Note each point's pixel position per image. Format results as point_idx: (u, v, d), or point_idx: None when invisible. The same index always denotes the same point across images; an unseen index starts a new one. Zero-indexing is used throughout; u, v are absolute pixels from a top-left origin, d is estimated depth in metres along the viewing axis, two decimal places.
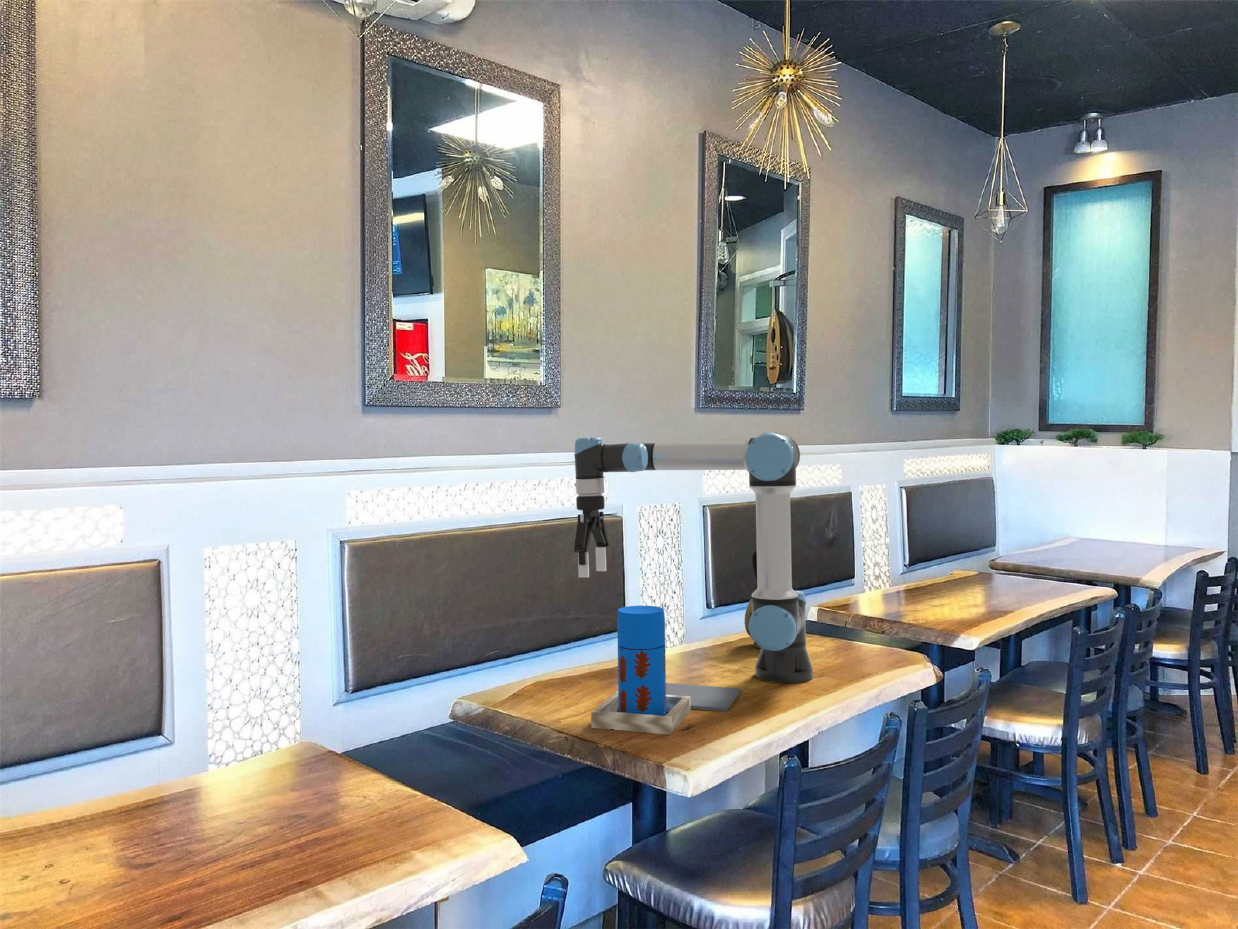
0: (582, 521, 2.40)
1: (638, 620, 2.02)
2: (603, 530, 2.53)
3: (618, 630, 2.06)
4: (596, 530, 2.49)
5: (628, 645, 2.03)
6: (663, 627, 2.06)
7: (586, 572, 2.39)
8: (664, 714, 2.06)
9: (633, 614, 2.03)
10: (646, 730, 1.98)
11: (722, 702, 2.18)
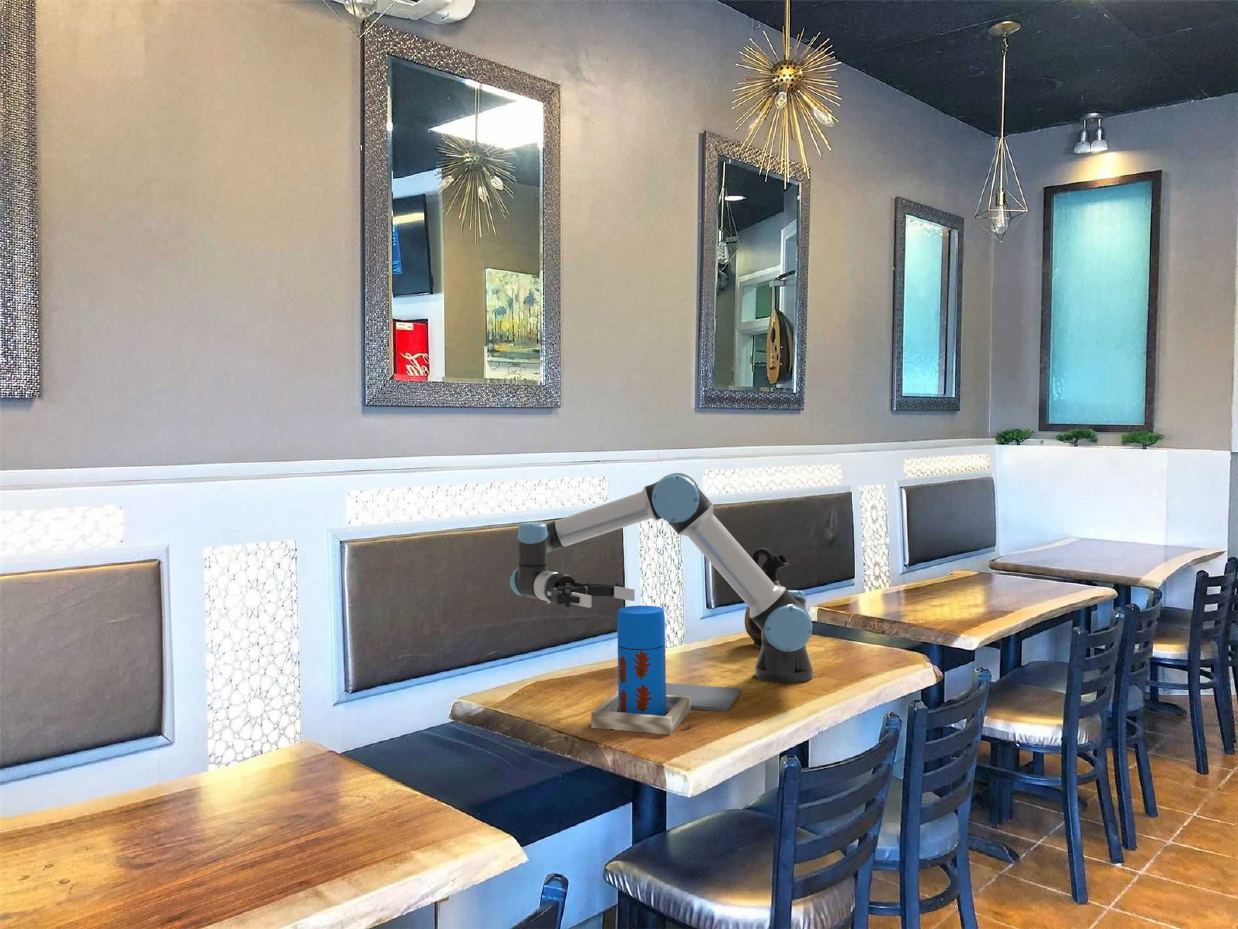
0: (550, 593, 2.21)
1: (638, 620, 2.02)
2: (604, 586, 2.28)
3: (618, 630, 2.06)
4: (591, 590, 2.26)
5: (628, 645, 2.03)
6: (663, 627, 2.06)
7: (585, 597, 2.11)
8: (664, 714, 2.06)
9: (633, 614, 2.03)
10: (646, 730, 1.98)
11: (722, 702, 2.18)
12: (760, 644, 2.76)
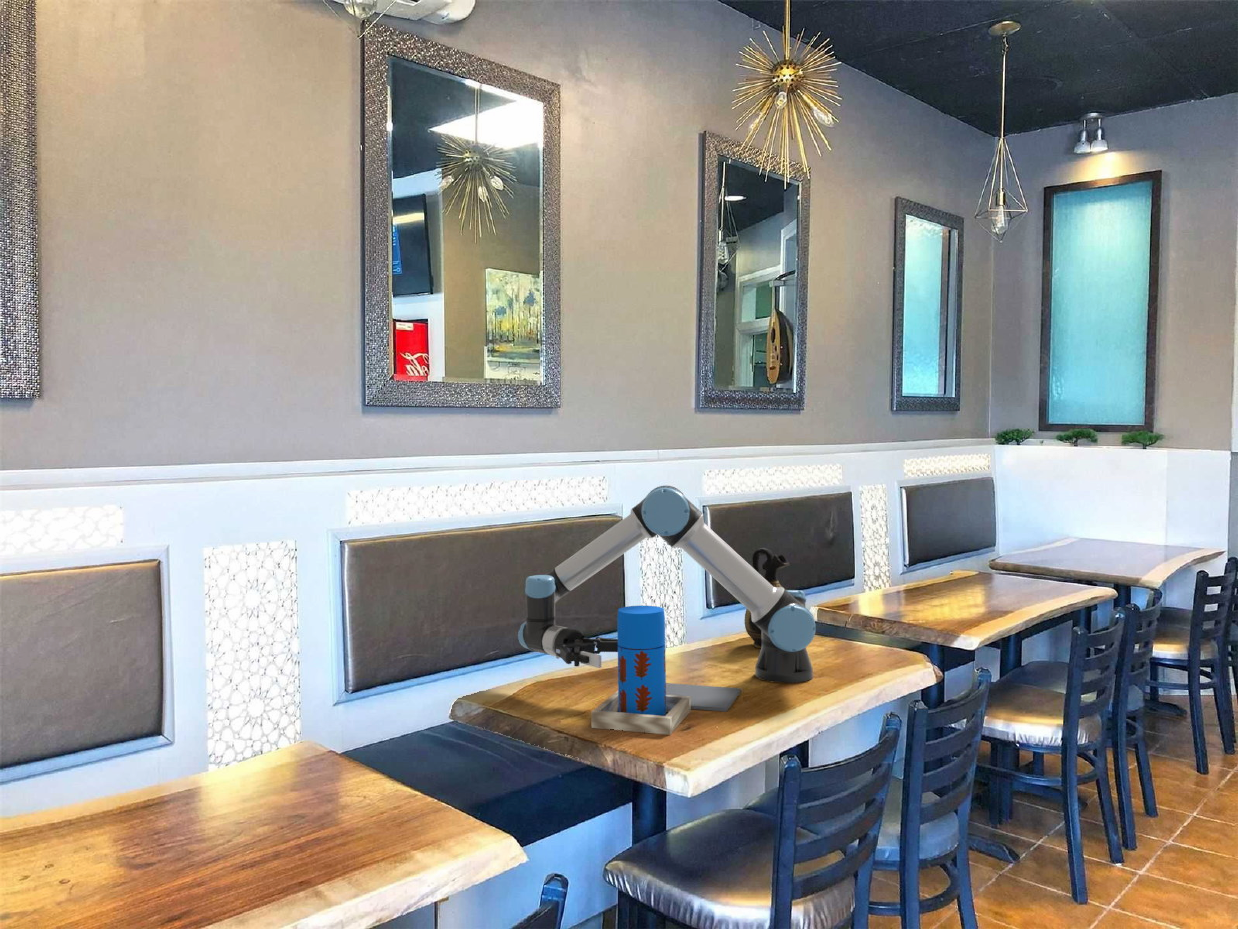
0: (559, 651, 2.18)
1: (638, 620, 2.02)
2: (613, 641, 2.25)
3: (618, 630, 2.06)
4: (600, 645, 2.23)
5: (628, 645, 2.03)
6: (663, 627, 2.06)
7: (595, 657, 2.08)
8: (664, 714, 2.06)
9: (633, 614, 2.03)
10: (646, 730, 1.98)
11: (722, 702, 2.18)
12: (760, 644, 2.76)
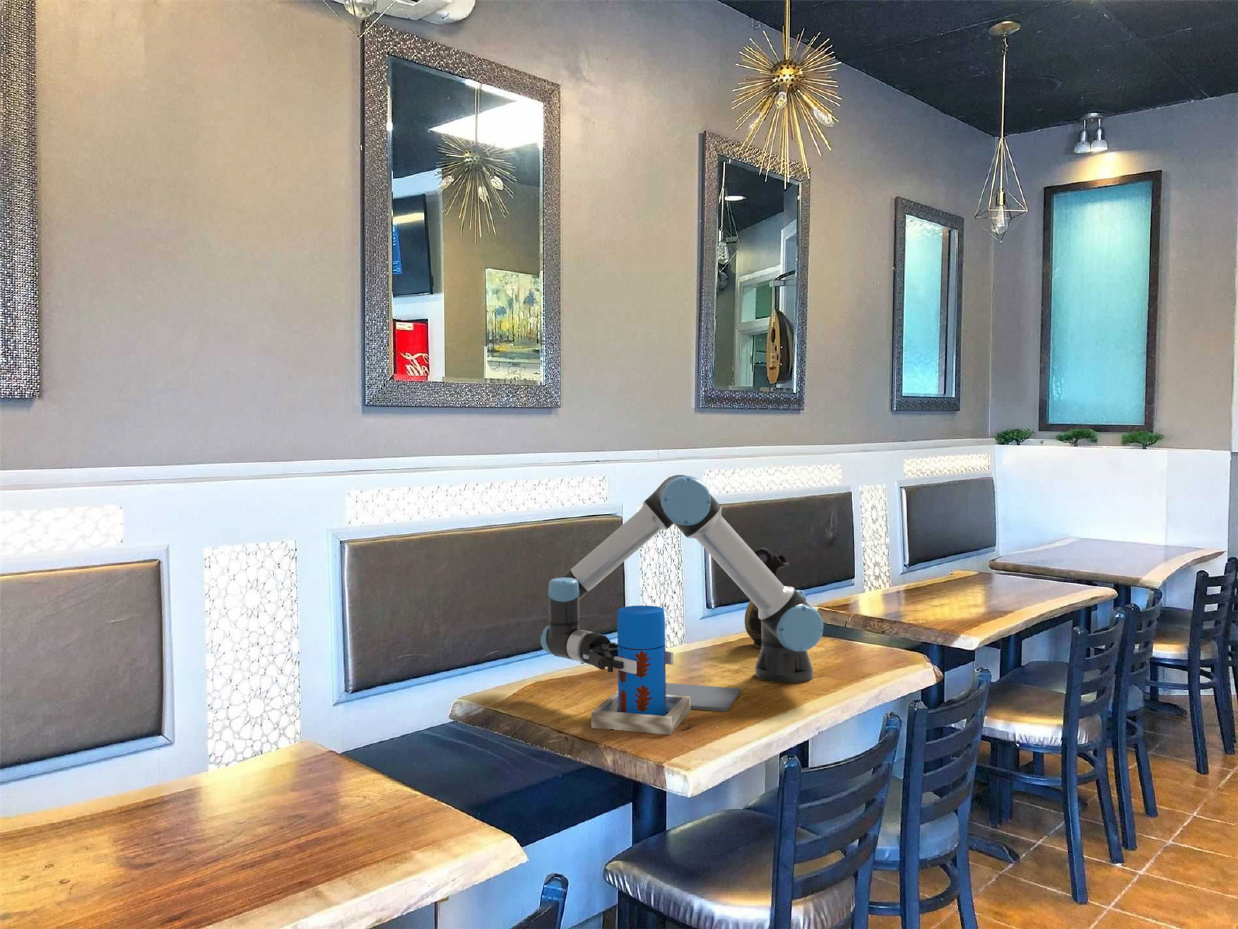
0: (587, 656, 2.11)
1: (638, 620, 2.02)
2: None
3: (618, 630, 2.06)
4: None
5: (628, 645, 2.03)
6: (663, 627, 2.06)
7: (629, 662, 2.02)
8: (664, 714, 2.06)
9: (633, 614, 2.03)
10: (646, 730, 1.98)
11: (722, 702, 2.18)
12: (760, 644, 2.76)
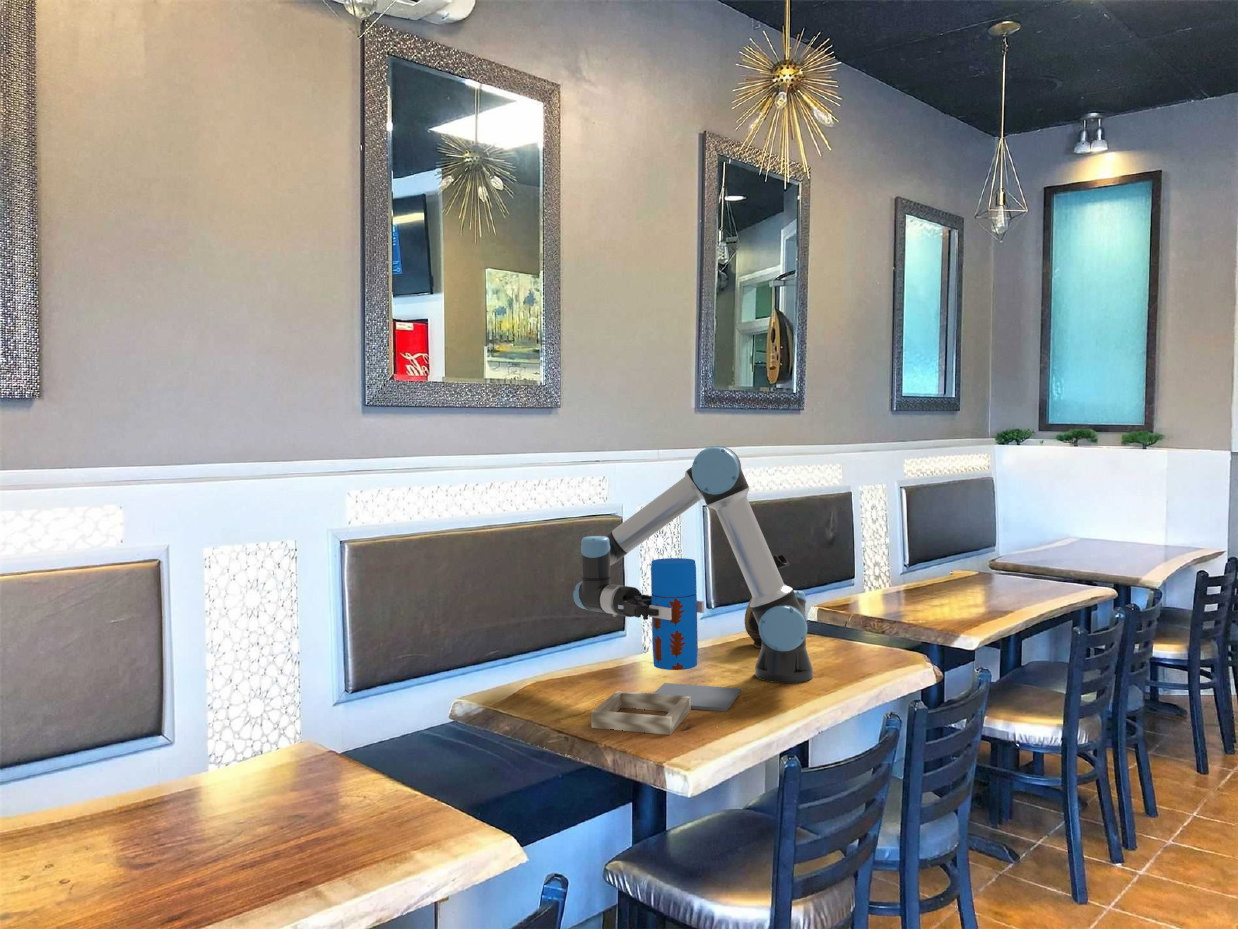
0: (622, 606, 2.23)
1: (672, 570, 2.14)
2: None
3: (652, 580, 2.18)
4: None
5: (662, 593, 2.15)
6: (695, 577, 2.18)
7: (665, 609, 2.14)
8: (696, 659, 2.18)
9: (667, 564, 2.15)
10: (646, 730, 1.98)
11: (722, 702, 2.18)
12: (760, 644, 2.76)
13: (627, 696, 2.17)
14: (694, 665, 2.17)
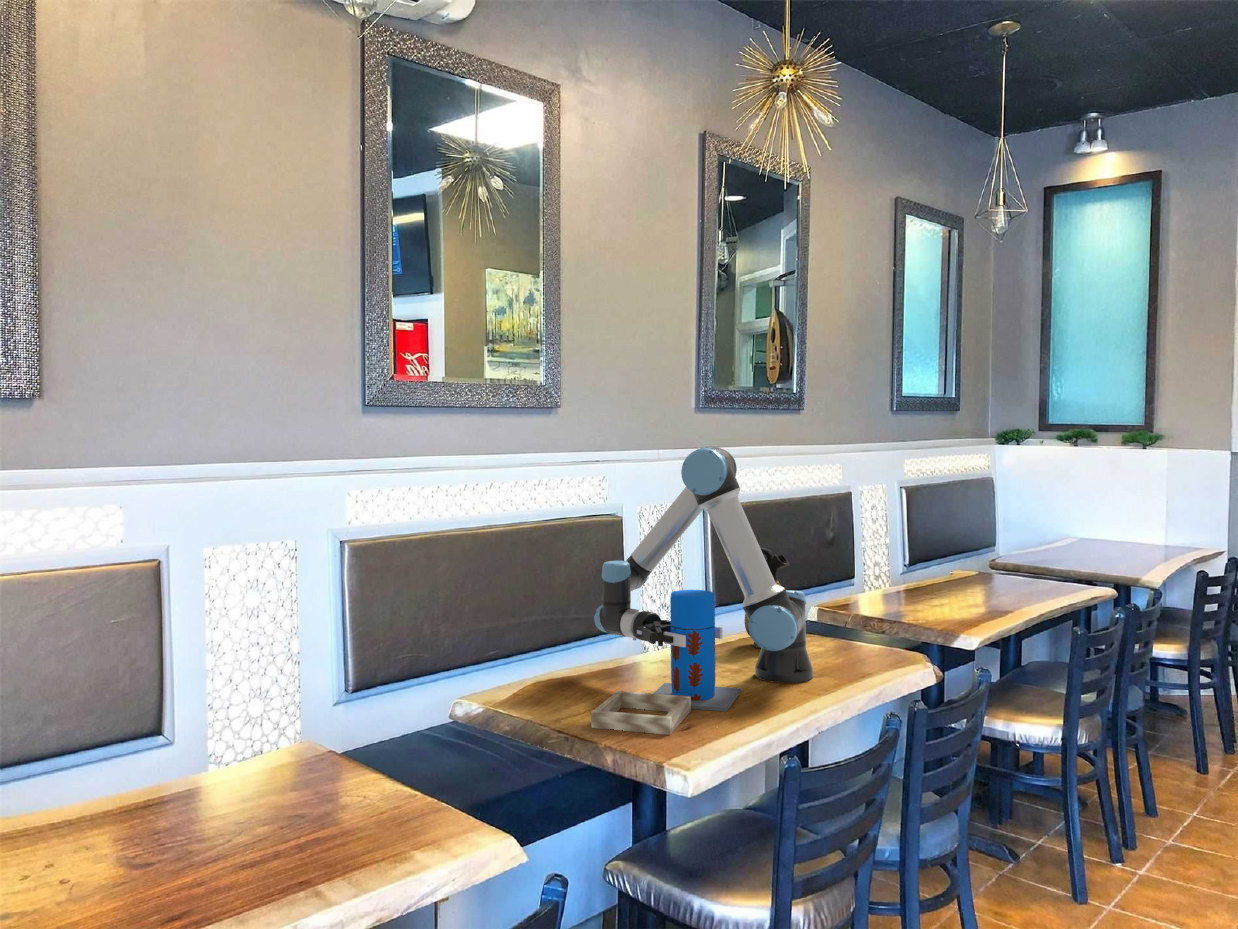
0: (641, 632, 2.28)
1: (691, 603, 2.19)
2: None
3: (671, 612, 2.23)
4: None
5: (681, 625, 2.20)
6: (713, 609, 2.22)
7: (679, 637, 2.18)
8: (714, 690, 2.23)
9: (686, 597, 2.19)
10: (646, 730, 1.98)
11: (722, 702, 2.18)
12: None
13: (627, 696, 2.17)
14: (711, 696, 2.22)
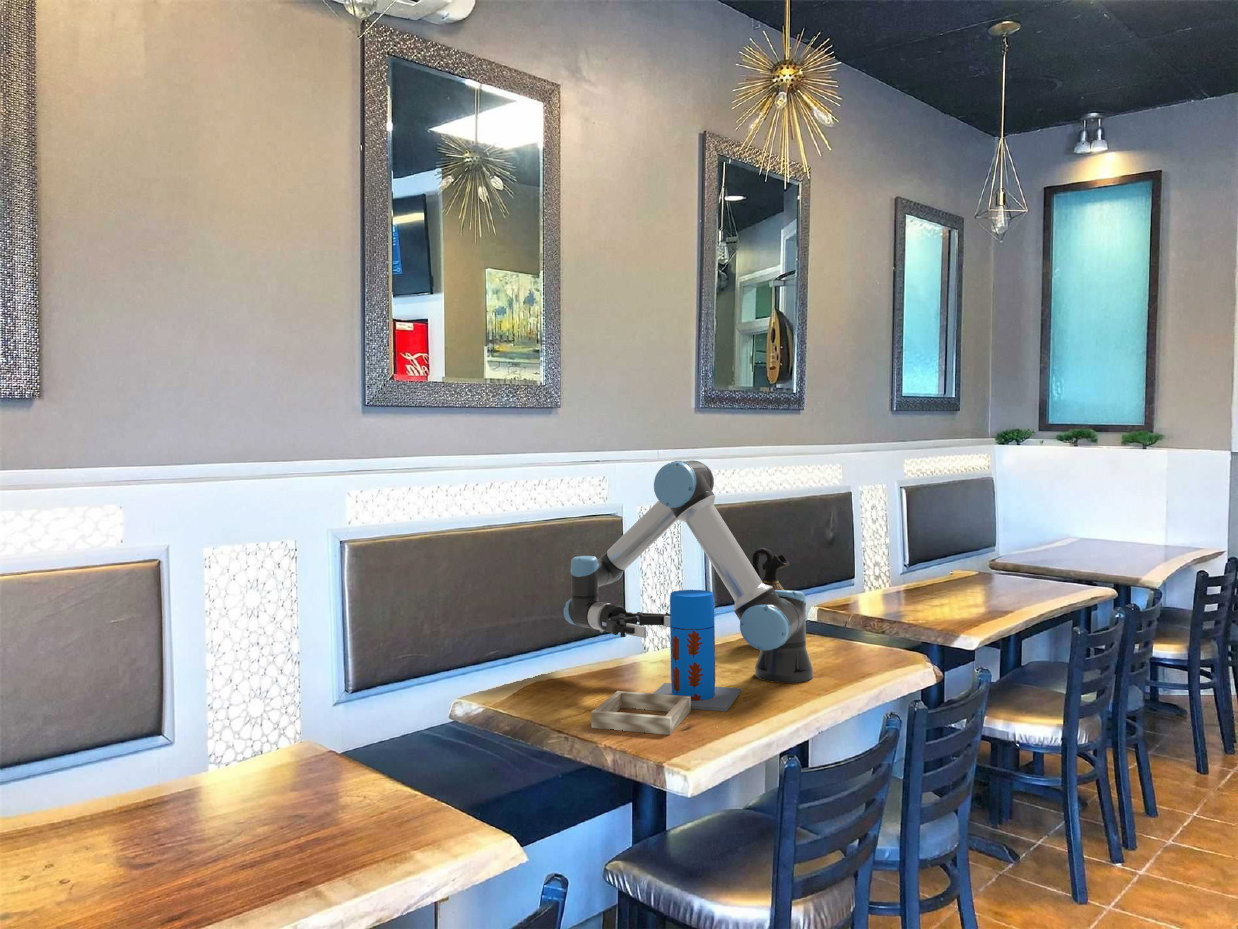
0: (605, 624, 2.38)
1: (690, 603, 2.19)
2: (653, 615, 2.45)
3: (671, 612, 2.23)
4: (642, 619, 2.42)
5: (681, 625, 2.20)
6: (713, 609, 2.22)
7: (640, 628, 2.28)
8: (714, 689, 2.23)
9: (686, 597, 2.19)
10: (646, 730, 1.98)
11: (722, 702, 2.18)
12: None
13: (627, 696, 2.17)
14: (711, 696, 2.22)
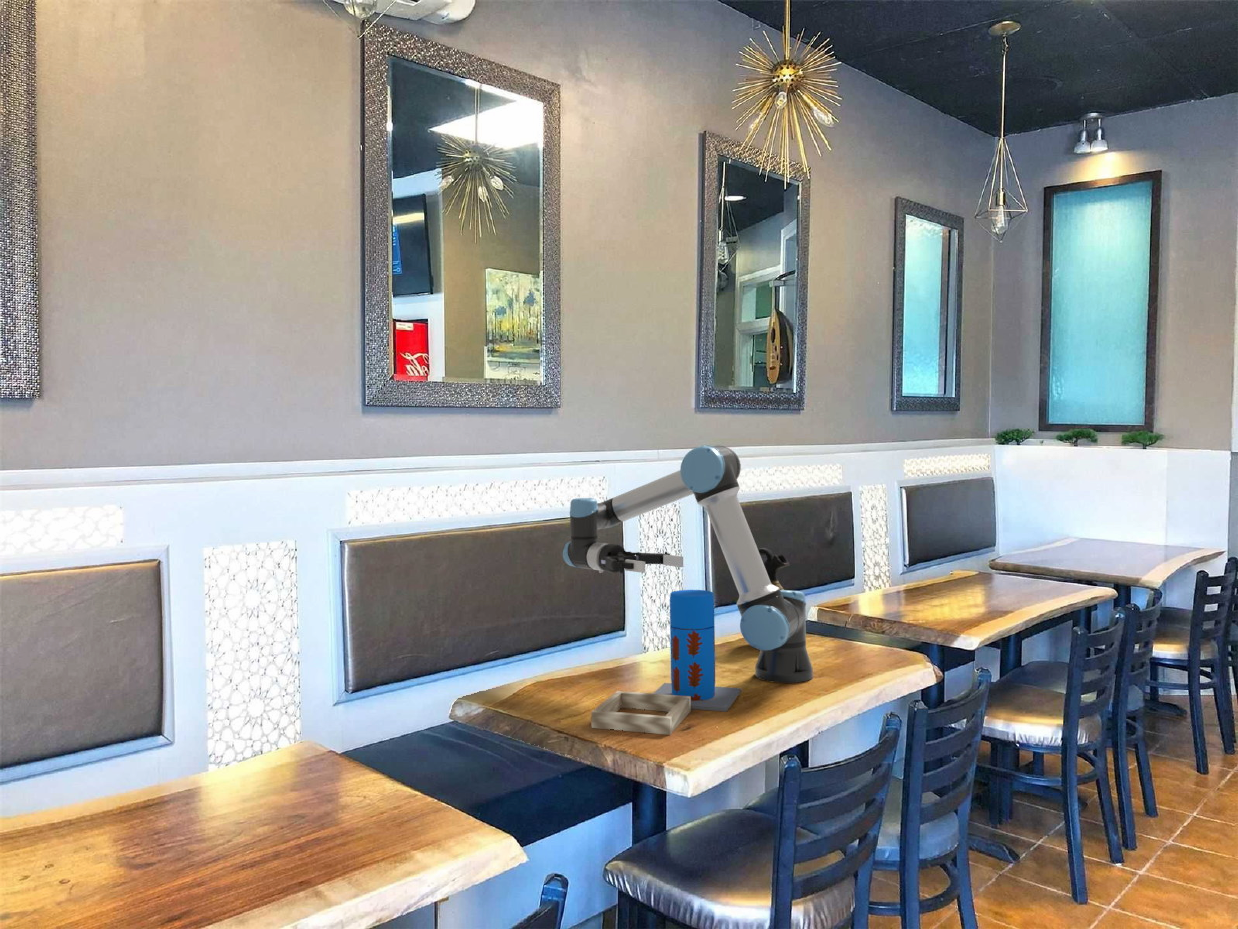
0: (604, 561, 2.37)
1: (690, 603, 2.19)
2: None
3: (671, 612, 2.23)
4: (641, 558, 2.42)
5: (681, 625, 2.20)
6: (713, 609, 2.22)
7: (639, 563, 2.27)
8: (714, 689, 2.23)
9: (686, 597, 2.19)
10: (646, 730, 1.98)
11: (722, 702, 2.18)
12: None
13: (627, 696, 2.17)
14: (712, 696, 2.22)
